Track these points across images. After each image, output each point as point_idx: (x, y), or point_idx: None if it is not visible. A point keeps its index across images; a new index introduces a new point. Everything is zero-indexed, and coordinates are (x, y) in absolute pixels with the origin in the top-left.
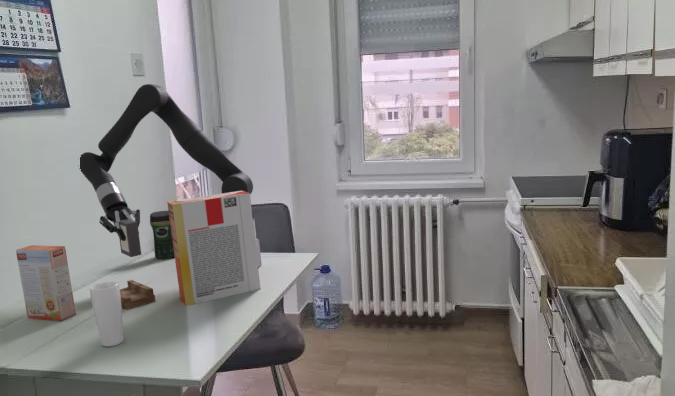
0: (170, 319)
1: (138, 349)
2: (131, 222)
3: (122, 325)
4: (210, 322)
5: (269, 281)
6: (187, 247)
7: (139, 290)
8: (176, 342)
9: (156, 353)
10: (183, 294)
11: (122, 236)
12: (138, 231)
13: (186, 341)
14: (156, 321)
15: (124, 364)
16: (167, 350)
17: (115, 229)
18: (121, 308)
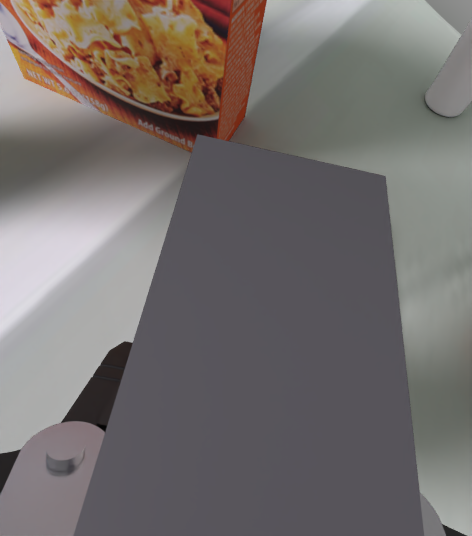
0: (315, 93)
1: (416, 59)
2: (278, 189)
3: (444, 63)
4: (279, 31)
5: (2, 49)
6: None
7: None
8: (362, 31)
9: (400, 32)
10: (244, 100)
11: None
12: (104, 359)
13: (350, 22)
14: (340, 109)
15: (447, 45)
16: (385, 26)
17: (445, 530)
18: (468, 23)
